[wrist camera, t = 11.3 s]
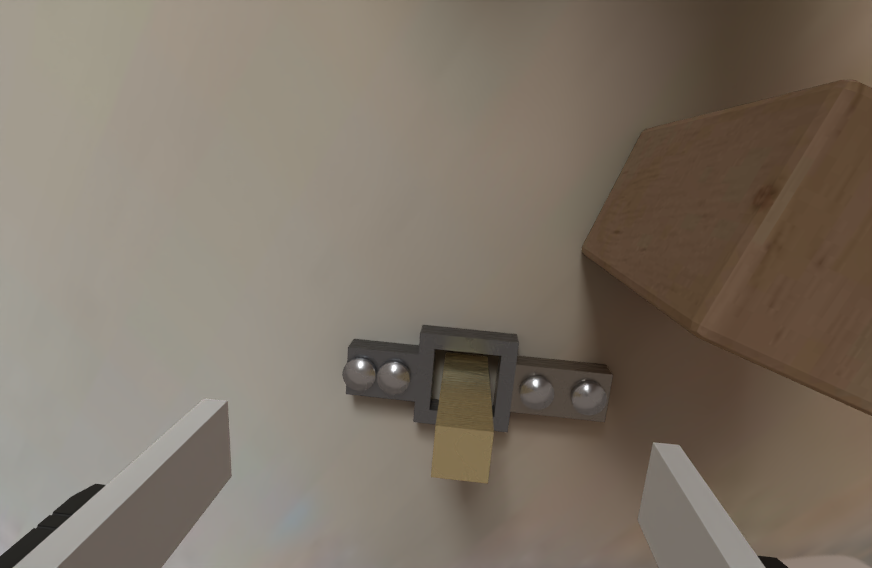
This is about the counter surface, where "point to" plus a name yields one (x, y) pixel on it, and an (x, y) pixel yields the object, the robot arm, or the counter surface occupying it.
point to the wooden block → (757, 233)
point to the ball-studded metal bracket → (515, 383)
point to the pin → (464, 420)
